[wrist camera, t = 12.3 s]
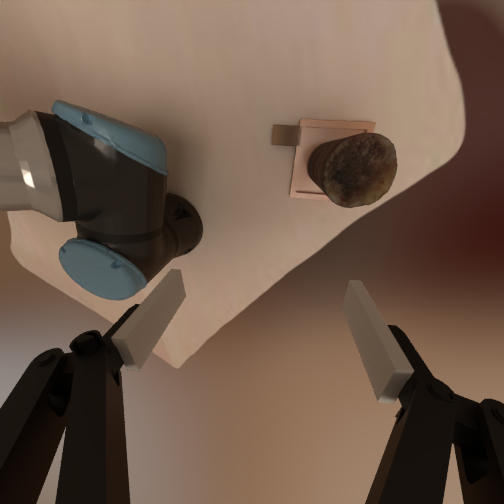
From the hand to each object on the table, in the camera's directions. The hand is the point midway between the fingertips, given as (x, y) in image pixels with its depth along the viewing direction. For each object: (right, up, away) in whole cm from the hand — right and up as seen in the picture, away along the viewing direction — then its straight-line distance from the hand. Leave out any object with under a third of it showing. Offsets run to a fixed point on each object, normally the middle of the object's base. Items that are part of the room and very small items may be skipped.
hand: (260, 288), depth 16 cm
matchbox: (+6, +24, +21) cm, 32 cm away
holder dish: (+13, +20, +22) cm, 32 cm away
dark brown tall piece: (+13, +19, +21) cm, 32 cm away
